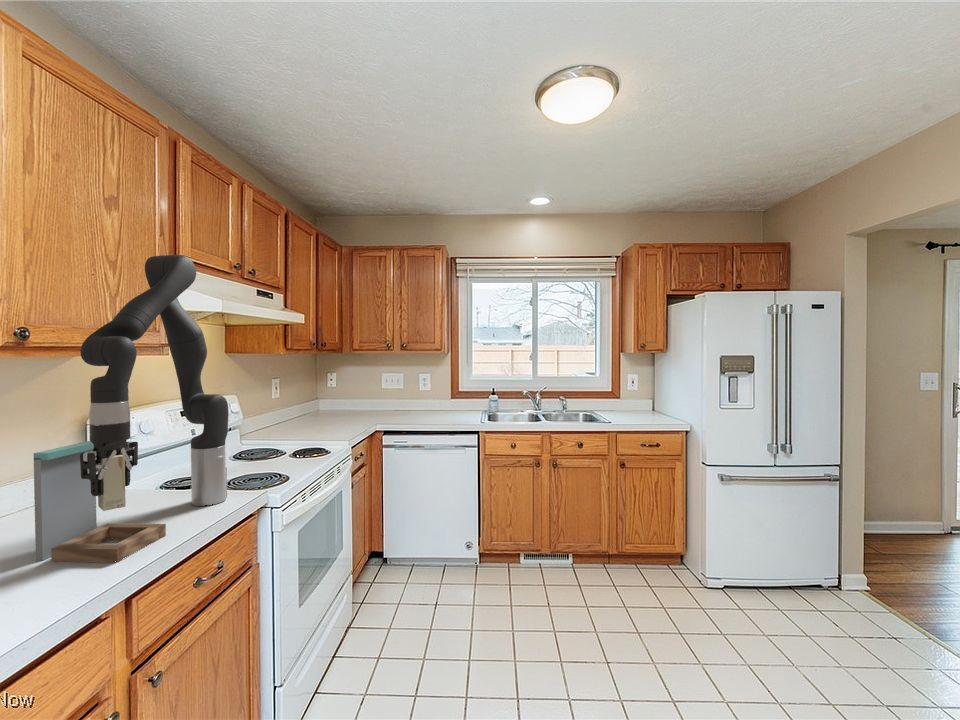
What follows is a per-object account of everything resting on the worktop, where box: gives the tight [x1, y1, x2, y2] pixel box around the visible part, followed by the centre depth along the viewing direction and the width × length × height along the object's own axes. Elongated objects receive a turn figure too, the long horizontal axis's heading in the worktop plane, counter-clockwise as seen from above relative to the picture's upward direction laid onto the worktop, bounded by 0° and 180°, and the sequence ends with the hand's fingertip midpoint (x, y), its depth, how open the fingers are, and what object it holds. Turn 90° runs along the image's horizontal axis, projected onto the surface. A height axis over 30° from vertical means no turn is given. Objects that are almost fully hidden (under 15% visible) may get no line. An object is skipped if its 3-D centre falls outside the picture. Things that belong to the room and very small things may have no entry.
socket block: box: [50, 522, 167, 563], centre depth 110 cm, size 15×15×3 cm
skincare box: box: [96, 455, 127, 512], centre depth 110 cm, size 6×4×12 cm
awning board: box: [33, 440, 98, 562], centre depth 110 cm, size 14×3×24 cm, turn 178°
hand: (111, 490), depth 110 cm, fingers closed on skincare box, 7 cm apart
